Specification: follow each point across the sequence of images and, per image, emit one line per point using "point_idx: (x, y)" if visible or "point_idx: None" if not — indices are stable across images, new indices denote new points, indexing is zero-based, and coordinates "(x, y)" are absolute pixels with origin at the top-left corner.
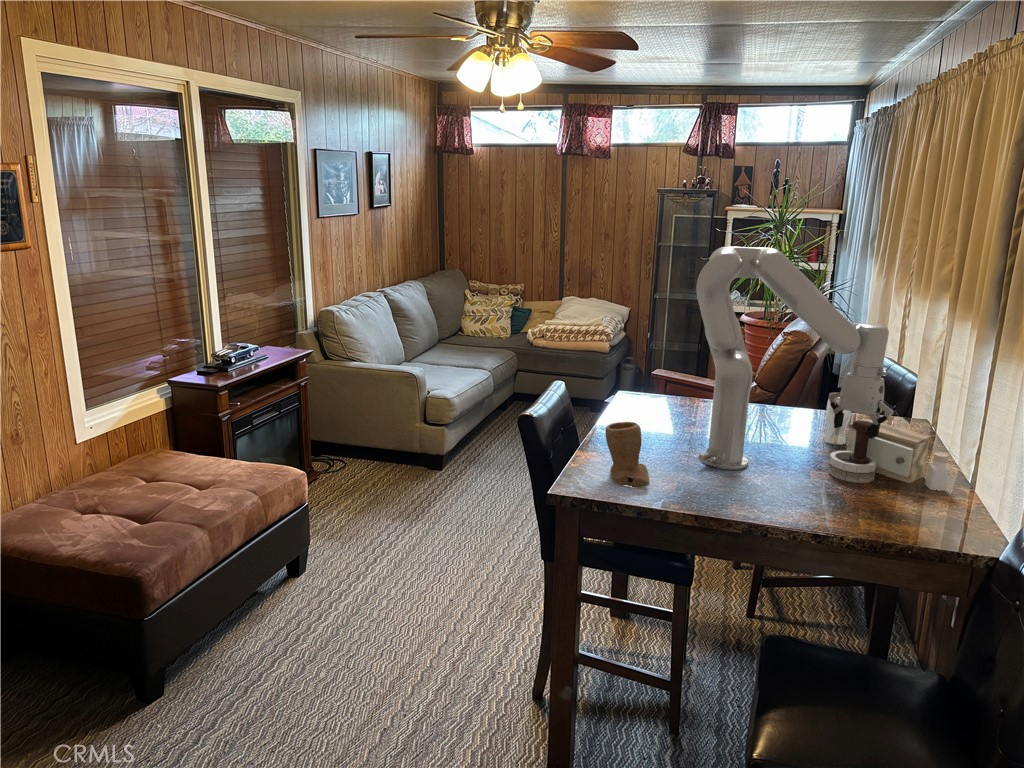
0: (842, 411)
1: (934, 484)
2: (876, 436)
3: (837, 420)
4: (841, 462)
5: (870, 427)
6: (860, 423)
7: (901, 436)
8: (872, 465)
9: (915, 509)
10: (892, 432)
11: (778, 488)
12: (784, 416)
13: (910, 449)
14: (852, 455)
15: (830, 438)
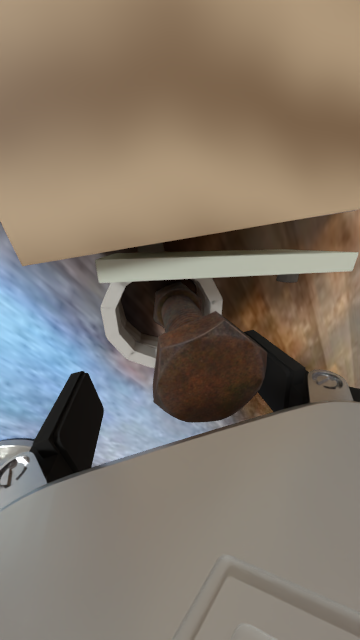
0: (53, 473)
1: None
2: (251, 330)
3: (93, 445)
4: None
5: (271, 407)
6: (204, 403)
7: (315, 188)
8: (220, 311)
9: (309, 329)
10: (257, 161)
11: (154, 445)
12: None
13: (350, 267)
14: (162, 320)
15: None
